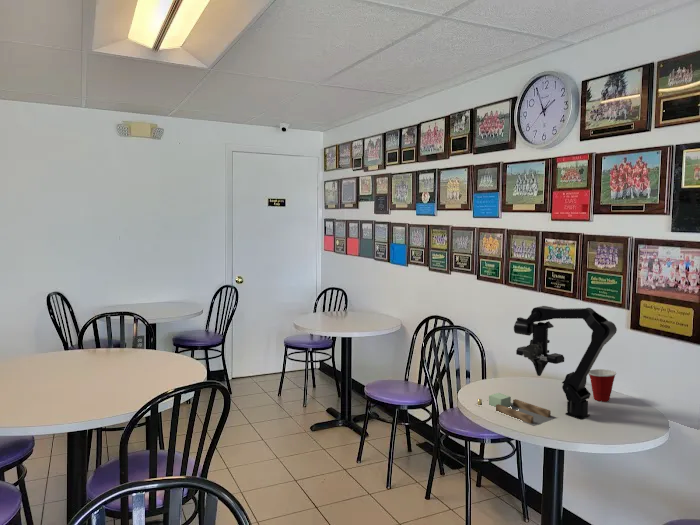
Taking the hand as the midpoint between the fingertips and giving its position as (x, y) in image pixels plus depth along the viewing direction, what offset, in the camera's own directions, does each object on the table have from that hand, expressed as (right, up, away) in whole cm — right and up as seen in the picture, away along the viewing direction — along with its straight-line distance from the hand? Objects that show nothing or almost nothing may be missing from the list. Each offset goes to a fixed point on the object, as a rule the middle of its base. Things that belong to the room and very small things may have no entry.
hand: (539, 375), depth 214 cm
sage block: (-16, -12, -1) cm, 20 cm away
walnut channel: (-10, -13, -10) cm, 19 cm away
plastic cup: (+28, -12, +7) cm, 32 cm away
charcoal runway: (-12, -13, -6) cm, 18 cm away
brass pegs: (-19, -12, +3) cm, 23 cm away
